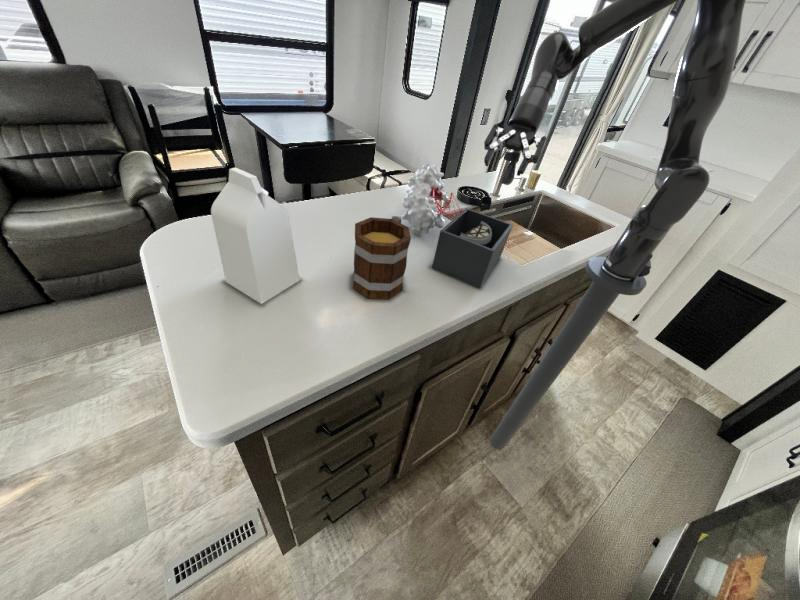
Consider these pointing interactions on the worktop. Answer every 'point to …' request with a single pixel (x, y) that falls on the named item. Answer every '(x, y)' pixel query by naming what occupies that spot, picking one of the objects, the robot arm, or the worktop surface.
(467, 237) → the food container
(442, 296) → the worktop surface
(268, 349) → the worktop surface
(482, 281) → the bin
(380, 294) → the mug
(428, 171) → the protein dna model
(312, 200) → the worktop surface
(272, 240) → the milk
